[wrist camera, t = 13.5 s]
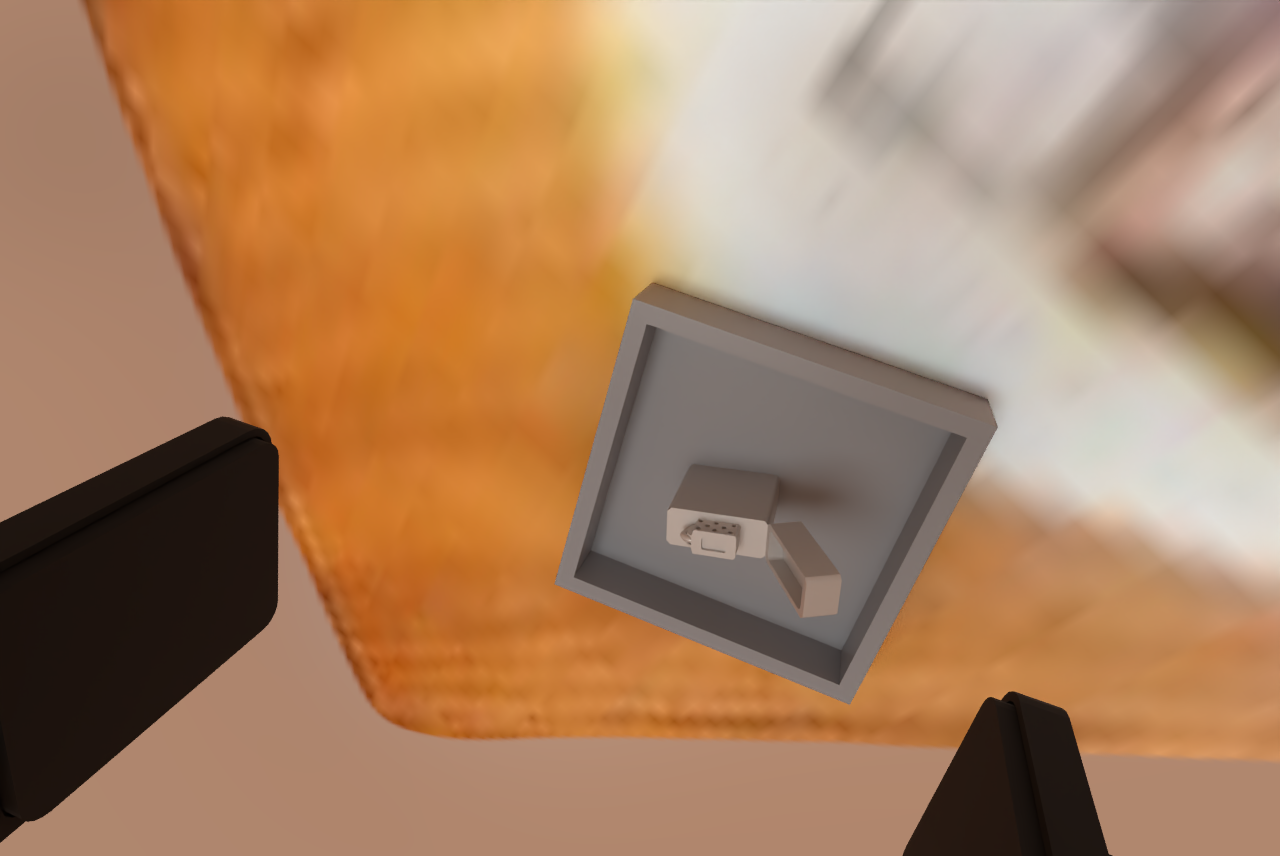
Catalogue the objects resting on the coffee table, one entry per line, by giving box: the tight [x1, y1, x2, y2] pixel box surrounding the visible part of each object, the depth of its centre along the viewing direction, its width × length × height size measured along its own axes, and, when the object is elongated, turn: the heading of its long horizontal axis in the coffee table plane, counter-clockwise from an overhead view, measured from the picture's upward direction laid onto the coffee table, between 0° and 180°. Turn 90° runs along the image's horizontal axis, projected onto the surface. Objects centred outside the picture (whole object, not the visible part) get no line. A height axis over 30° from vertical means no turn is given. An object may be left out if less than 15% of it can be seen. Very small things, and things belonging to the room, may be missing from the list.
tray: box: [555, 283, 997, 705], centre depth 35 cm, size 15×15×3 cm
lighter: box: [666, 464, 842, 618], centre depth 32 cm, size 7×2×8 cm, turn 89°
